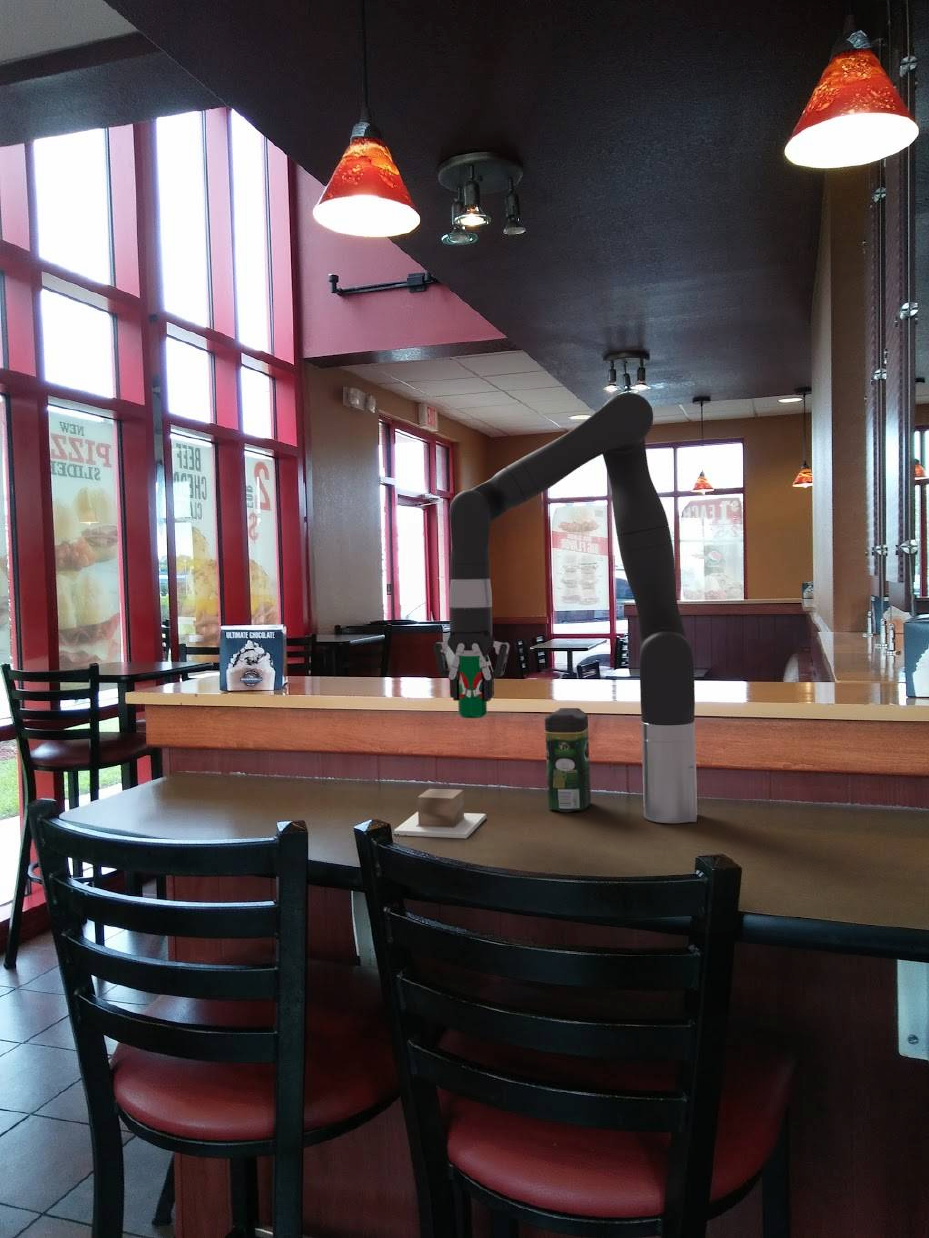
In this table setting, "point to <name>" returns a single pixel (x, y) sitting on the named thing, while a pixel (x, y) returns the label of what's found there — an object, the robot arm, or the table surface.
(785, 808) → the table surface
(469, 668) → the soda can
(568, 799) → the coffee jar
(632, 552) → the robot arm
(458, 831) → the board
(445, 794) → the walnut block
